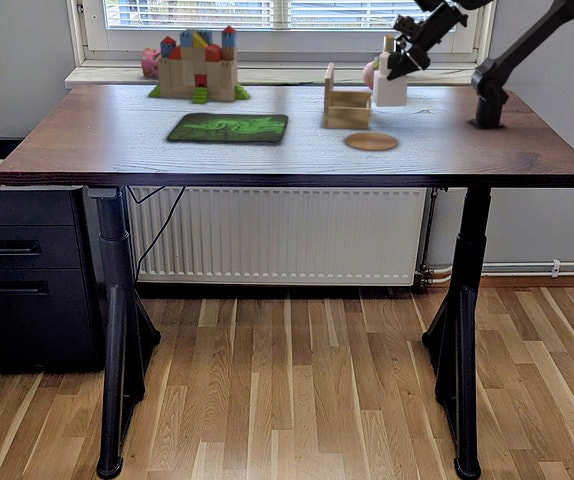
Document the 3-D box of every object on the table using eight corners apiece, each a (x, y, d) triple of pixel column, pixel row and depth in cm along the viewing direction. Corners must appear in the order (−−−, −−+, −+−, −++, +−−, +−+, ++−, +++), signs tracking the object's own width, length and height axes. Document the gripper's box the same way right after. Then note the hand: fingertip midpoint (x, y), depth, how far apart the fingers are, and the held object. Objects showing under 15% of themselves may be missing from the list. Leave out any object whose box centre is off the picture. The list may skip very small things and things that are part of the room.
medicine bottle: (400, 98, 161) (404, 49, 155) (405, 106, 155) (410, 55, 149) (372, 99, 161) (375, 49, 155) (376, 107, 155) (380, 56, 149)
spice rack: (370, 110, 172) (374, 64, 165) (369, 129, 157) (373, 80, 151) (328, 108, 173) (330, 62, 167) (323, 127, 158) (324, 78, 152)
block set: (144, 100, 178) (136, 27, 168) (161, 88, 190) (155, 19, 180) (241, 106, 174) (239, 31, 164) (253, 93, 186) (251, 22, 176)
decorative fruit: (365, 87, 192) (367, 53, 187) (391, 89, 190) (395, 55, 185) (358, 95, 185) (360, 59, 180) (386, 97, 183) (389, 61, 177)
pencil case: (212, 75, 204) (210, 46, 200) (207, 82, 196) (206, 52, 192) (146, 73, 205) (143, 45, 200) (139, 80, 197) (136, 51, 193)
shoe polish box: (382, 77, 203) (386, 38, 197) (381, 74, 207) (384, 35, 201) (398, 78, 203) (402, 38, 197) (396, 74, 207) (400, 35, 201)
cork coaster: (405, 148, 145) (405, 146, 145) (356, 152, 143) (356, 150, 142) (385, 132, 155) (385, 130, 155) (338, 136, 153) (338, 134, 152)
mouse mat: (164, 141, 148) (163, 137, 147) (185, 114, 166) (185, 110, 166) (281, 145, 146) (281, 141, 145) (289, 117, 164) (289, 113, 164)
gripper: (406, -5, 154) (358, 43, 160) (421, 7, 138) (367, 60, 144) (435, 30, 158) (387, 75, 164) (453, 44, 142) (399, 94, 148)
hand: (385, 75), depth 155 cm, fingers closed on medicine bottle, 7 cm apart
